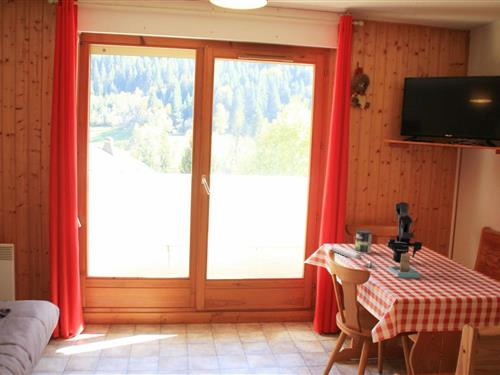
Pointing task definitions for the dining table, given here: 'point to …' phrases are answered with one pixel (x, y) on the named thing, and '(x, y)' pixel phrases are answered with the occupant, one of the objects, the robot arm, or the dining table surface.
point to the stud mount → (370, 266)
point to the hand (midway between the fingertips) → (404, 257)
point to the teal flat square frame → (405, 275)
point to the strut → (404, 263)
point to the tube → (345, 252)
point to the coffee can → (363, 241)
